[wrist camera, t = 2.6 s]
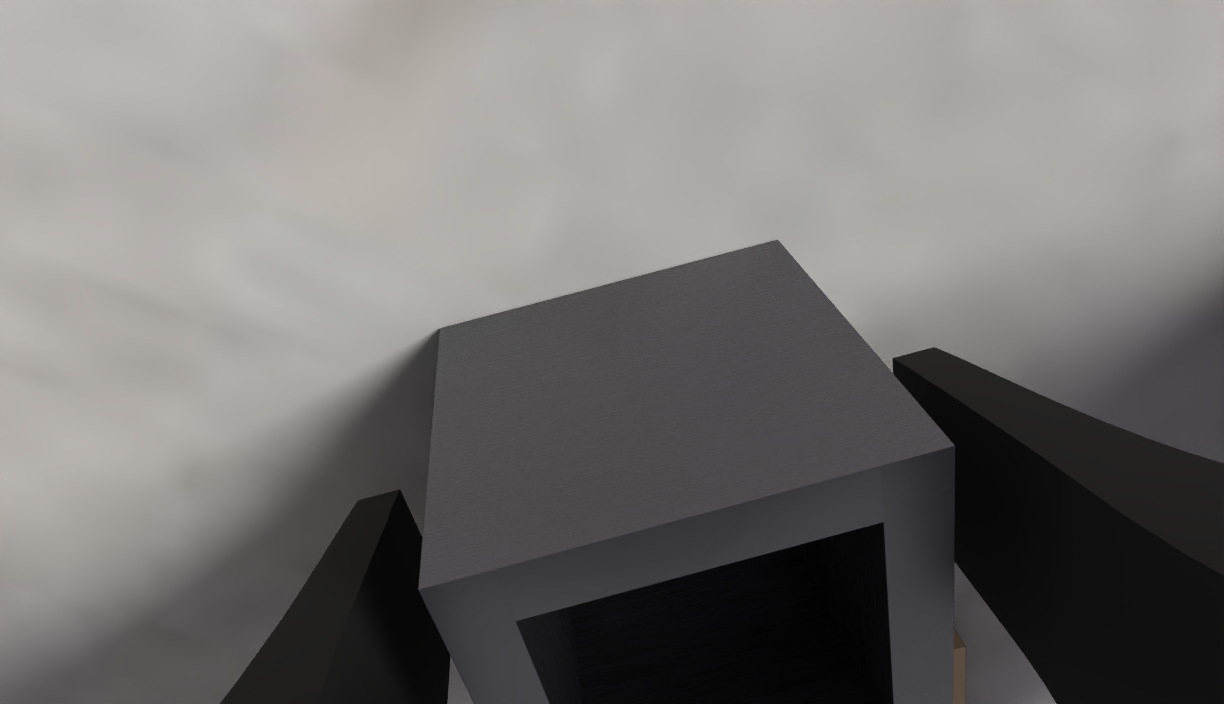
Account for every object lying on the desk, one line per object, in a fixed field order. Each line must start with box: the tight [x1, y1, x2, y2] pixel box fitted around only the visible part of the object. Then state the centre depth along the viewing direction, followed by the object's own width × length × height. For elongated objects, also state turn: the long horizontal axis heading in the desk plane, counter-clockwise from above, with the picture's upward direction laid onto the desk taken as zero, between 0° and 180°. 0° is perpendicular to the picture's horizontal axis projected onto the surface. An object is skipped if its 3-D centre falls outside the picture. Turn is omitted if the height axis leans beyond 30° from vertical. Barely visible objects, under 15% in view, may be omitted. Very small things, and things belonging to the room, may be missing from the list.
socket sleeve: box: [418, 240, 955, 704], centre depth 11 cm, size 5×5×5 cm
